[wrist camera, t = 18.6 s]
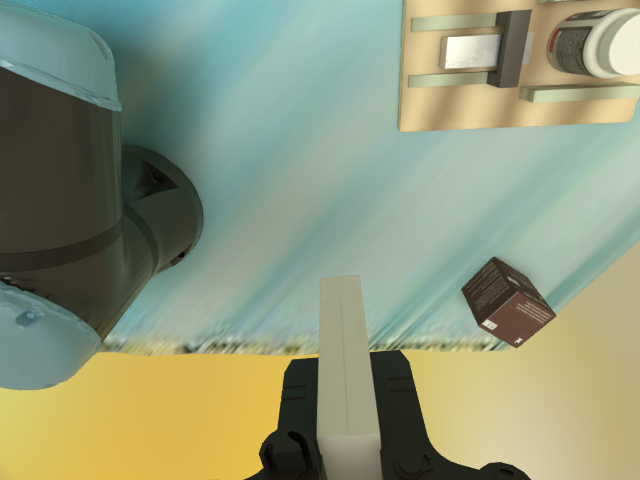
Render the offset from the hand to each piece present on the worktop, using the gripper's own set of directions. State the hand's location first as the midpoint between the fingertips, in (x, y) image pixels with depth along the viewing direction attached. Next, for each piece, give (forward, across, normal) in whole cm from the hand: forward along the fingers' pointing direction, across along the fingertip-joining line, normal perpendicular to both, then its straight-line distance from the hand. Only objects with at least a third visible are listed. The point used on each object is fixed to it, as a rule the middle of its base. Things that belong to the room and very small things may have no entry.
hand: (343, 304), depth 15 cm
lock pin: (+26, +14, +6) cm, 30 cm away
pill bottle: (+26, +22, +6) cm, 35 cm away
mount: (+28, +18, +7) cm, 34 cm away
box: (+28, +18, -21) cm, 39 cm away
